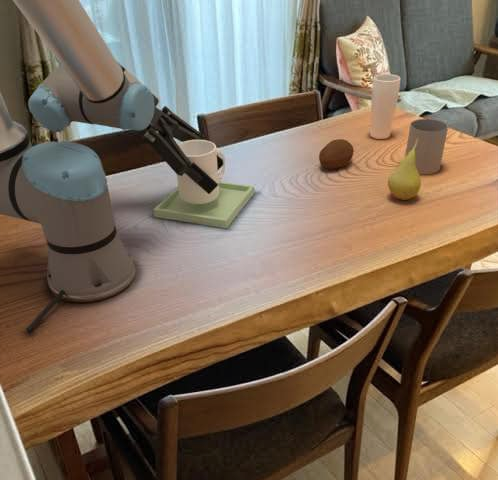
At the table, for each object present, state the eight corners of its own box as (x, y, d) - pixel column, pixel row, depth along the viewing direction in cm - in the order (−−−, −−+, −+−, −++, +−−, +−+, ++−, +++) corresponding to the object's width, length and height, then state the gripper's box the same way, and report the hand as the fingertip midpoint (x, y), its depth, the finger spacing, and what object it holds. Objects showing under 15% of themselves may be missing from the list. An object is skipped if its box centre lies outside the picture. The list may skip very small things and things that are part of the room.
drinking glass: (396, 134, 146) (404, 75, 136) (387, 142, 142) (395, 82, 132) (372, 130, 149) (379, 72, 139) (363, 138, 144) (369, 79, 135)
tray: (226, 228, 110) (225, 220, 108) (154, 216, 114) (153, 209, 113) (254, 193, 121) (254, 185, 120) (188, 184, 126) (187, 176, 125)
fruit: (381, 200, 117) (389, 146, 109) (393, 187, 122) (401, 134, 114) (412, 207, 114) (421, 152, 106) (422, 193, 119) (432, 139, 111)
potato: (311, 168, 131) (312, 142, 127) (337, 156, 136) (339, 131, 132) (332, 175, 127) (333, 150, 123) (358, 163, 132) (360, 138, 128)
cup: (413, 157, 134) (420, 116, 127) (445, 165, 130) (454, 123, 123) (397, 168, 129) (403, 127, 123) (430, 177, 125) (438, 134, 118)
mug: (239, 190, 117) (237, 142, 111) (196, 209, 111) (191, 159, 104) (214, 178, 122) (210, 132, 116) (171, 196, 116) (165, 147, 109)
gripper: (136, 96, 116) (214, 166, 124) (104, 136, 98) (197, 214, 107) (156, 70, 112) (235, 144, 120) (127, 107, 95) (221, 190, 103)
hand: (217, 177), depth 114 cm, fingers closed on mug, 10 cm apart
